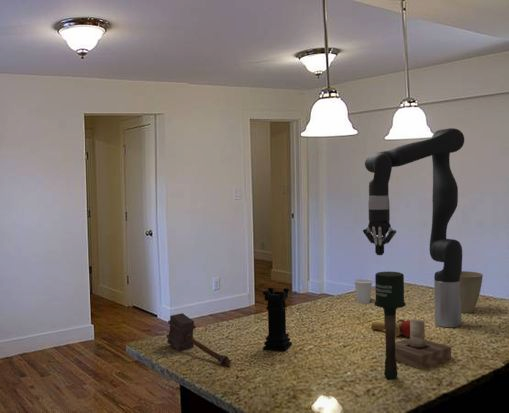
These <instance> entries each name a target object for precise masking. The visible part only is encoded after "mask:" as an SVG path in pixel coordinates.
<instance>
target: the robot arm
mask: <svg viewBox="0 0 509 413" xmlns="http://www.w3.org/2000/svg"><path fill="white" fill-rule="evenodd" d="M464 144H465V135H464V133H463V132H462V131H461V130H460V129H457V128H453V127H451V128H450V127H449V128H445V129H438V130H436V131H435V132H434V133H433V134H432V136H431V138H428V139H424V140H420V141H416V142H411V143H406V144H403V145H399V146H397V147H394V148H391V149H388V150H384V151H383V150H382V151H379V152H375V153H372V154H370V155H368V156H367V157H366V158H365V161H364V166H365V168H366V171H368V172H370V173H373V179H371V180H370V181H369V183H368V225H367V227H366V228H365V229H363V230H362V232H363V234H364V236H366V238H367V240H368V241H369V242H370V243H371V244H372V245H373V244H374V246H375V248H374V249H375V254H376V255H377V256H383V255H384V254H385V245H386V244H389V243H390V242H391V240H392V239H393V238H394V237H395V235H396V234H397V229H393V228H392V227H391V222H390V220H391V217H390V216H391V215H390V211H391V210H390V206H391V205H390V198H389V196H390V195H389V182H390V179H391V175H392V174H391V173H392V169H393V168H397V167H403V166H405V165H408V164H410V163H414V162H417V161H419V160H422V159H425V158H429V157H431V158H432V159H431V160H432V213H431V215H432V216H431V218H432V219H431V231H430V237H429V238H430V240H429V254H430V257H431V259H432V260H433V261H435V262H439V263H443V268H442V269H441V270H439V271H436V272H435V273H434V277H433V278H434V280H433V281H434V282H433V283H434V286H433V287H434V324H435V325H436V326H438V327H442V328H457V327H461V325H462V320H463V319H462V313H461V299H460V275H461V272H462V271H463V270H462V269H463V247H462V244H461V242H460V241H458V240H457V239H453V238H447V232H448V231H447V229H448V224H449V222H450V220H451V219H452V217H453V215H454V213H455V212H456V209H457V207H458V202H459V189H458V188H459V187H458V184H457V181H456V178H455V176H454V175H453V172H452V169H451V164H450V158H451V157H450V155H451V153H453V154H454V153H456V152H458V151H459V150H461V149H462V147H463V146H464Z"/></svg>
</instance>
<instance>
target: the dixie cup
mask: <svg viewBox="0 0 509 413" xmlns="http://www.w3.org/2000/svg"><path fill="white" fill-rule="evenodd" d="M372 284H373V280H371V279H368V278H367V279H365V278H362V279H361V278H360V279H354V286H355V287H354V289H355V293H356V302H357V303H358V302H360V303H359V304H369V302H370V303H371V293H372Z"/></svg>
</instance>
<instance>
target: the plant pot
mask: <svg viewBox="0 0 509 413" xmlns="http://www.w3.org/2000/svg"><path fill="white" fill-rule="evenodd" d="M483 276H484V274H483V273H480V272H477V271H476V272H475V271H467V270H466V271H465V270H464V271H463V270H462V272H461V275H460V299H461V314H470V313H473V312H474V311H475V308H476V306H477V304H478V300H479V297H480V294H481V288H482V283H483Z"/></svg>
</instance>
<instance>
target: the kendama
mask: <svg viewBox="0 0 509 413" xmlns="http://www.w3.org/2000/svg"><path fill="white" fill-rule="evenodd" d="M410 320H411V319H410ZM410 320H409V319H408V320H406V319H404V318H400V319H398V320H396V327H395V338H397V337H398V336H400V335H401V334H402V335H403V336H405V338H410ZM371 330H373V331H378V330H379V331H382V330H384V331H385V325H384V322H377V321H372V322H371Z"/></svg>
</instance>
